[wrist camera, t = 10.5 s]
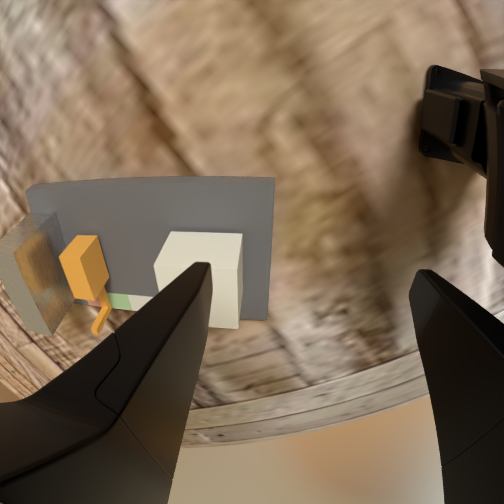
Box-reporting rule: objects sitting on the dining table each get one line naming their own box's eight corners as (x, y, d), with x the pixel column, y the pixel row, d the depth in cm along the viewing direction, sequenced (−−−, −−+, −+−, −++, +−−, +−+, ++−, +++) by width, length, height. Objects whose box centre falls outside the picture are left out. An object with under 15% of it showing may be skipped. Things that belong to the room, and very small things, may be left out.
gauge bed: (274, 177, 20) (276, 232, 14) (267, 310, 27) (265, 379, 21) (33, 184, 21) (-21, 227, 15) (69, 294, 28) (37, 345, 22)
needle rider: (97, 235, 22) (76, 262, 19) (119, 307, 26) (105, 336, 23) (77, 235, 22) (55, 260, 19) (100, 305, 26) (86, 332, 23)
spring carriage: (242, 233, 21) (237, 269, 18) (242, 290, 24) (238, 328, 21) (170, 231, 21) (153, 265, 18) (179, 286, 24) (166, 323, 21)
